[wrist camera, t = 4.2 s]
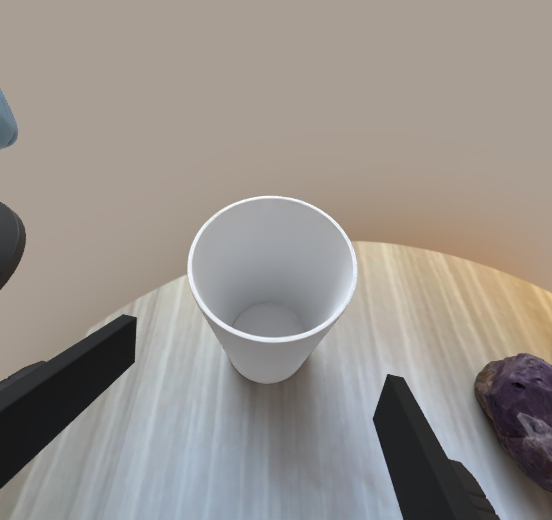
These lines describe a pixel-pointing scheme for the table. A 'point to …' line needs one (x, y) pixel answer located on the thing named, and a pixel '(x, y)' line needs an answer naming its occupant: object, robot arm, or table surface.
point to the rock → (521, 411)
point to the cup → (271, 282)
